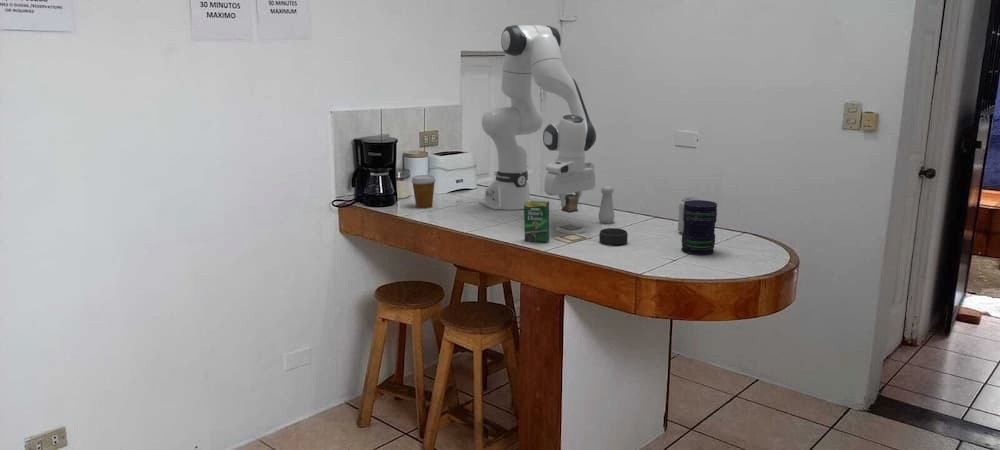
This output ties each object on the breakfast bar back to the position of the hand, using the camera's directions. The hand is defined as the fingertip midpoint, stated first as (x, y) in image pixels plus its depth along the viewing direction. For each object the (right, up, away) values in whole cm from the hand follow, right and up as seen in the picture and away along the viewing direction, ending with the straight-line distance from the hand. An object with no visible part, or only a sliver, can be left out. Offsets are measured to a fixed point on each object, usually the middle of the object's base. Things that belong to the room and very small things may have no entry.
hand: (569, 205), depth 241 cm
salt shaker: (+15, -6, +14) cm, 21 cm away
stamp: (0, -2, 0) cm, 2 cm away
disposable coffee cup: (-54, 0, +41) cm, 68 cm away
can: (+40, -10, -1) cm, 41 cm away
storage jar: (+37, -15, -23) cm, 46 cm away
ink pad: (+1, -9, +2) cm, 9 cm away
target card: (0, -11, -8) cm, 14 cm away
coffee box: (-12, -12, -11) cm, 20 cm away
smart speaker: (+13, -13, -13) cm, 22 cm away
